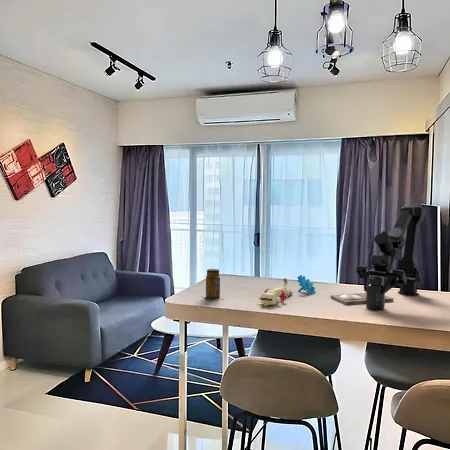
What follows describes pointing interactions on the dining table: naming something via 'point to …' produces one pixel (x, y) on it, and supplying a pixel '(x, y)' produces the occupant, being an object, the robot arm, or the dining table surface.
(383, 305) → the supplement bottle
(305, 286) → the blue lumpy piece
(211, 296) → the condiment
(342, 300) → the walnut board
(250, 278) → the dining table surface
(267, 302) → the cat figure
